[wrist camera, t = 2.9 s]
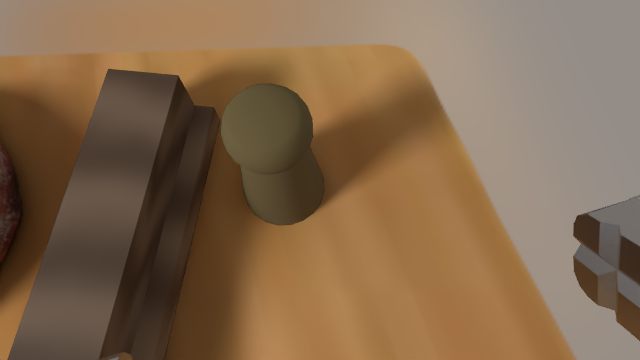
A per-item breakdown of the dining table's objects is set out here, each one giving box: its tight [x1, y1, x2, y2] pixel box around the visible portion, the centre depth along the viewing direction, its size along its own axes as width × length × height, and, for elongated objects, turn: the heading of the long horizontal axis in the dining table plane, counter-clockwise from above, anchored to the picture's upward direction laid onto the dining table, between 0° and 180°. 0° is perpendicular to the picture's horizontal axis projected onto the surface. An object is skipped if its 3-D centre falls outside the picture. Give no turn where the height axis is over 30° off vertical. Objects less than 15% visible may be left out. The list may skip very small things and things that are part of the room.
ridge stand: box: [8, 69, 220, 360], centre depth 30 cm, size 26×8×6 cm, turn 173°
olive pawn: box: [221, 84, 324, 225], centre depth 30 cm, size 6×6×11 cm
